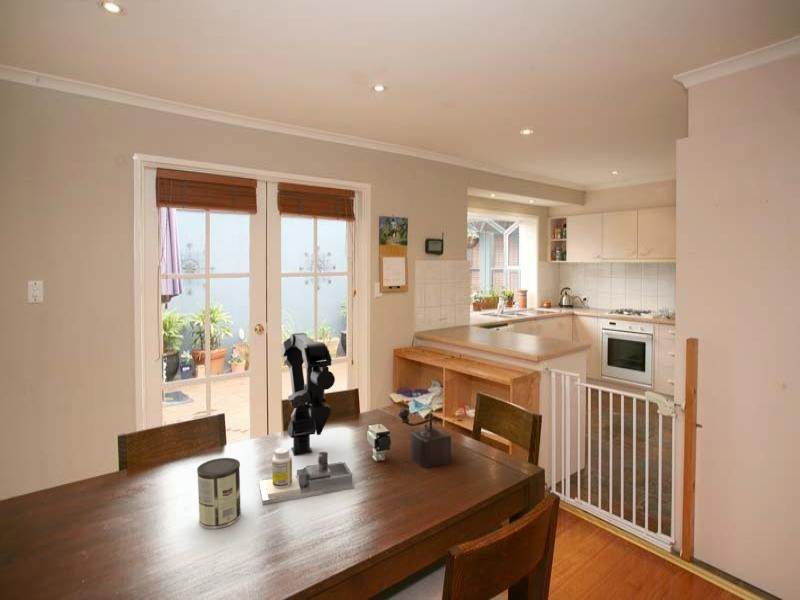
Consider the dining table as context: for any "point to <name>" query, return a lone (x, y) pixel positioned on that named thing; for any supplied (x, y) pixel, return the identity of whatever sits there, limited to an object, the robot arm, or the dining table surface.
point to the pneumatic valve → (378, 440)
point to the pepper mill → (428, 443)
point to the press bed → (279, 491)
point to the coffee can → (219, 493)
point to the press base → (316, 485)
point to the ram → (314, 470)
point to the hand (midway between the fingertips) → (315, 429)
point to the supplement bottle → (282, 468)
